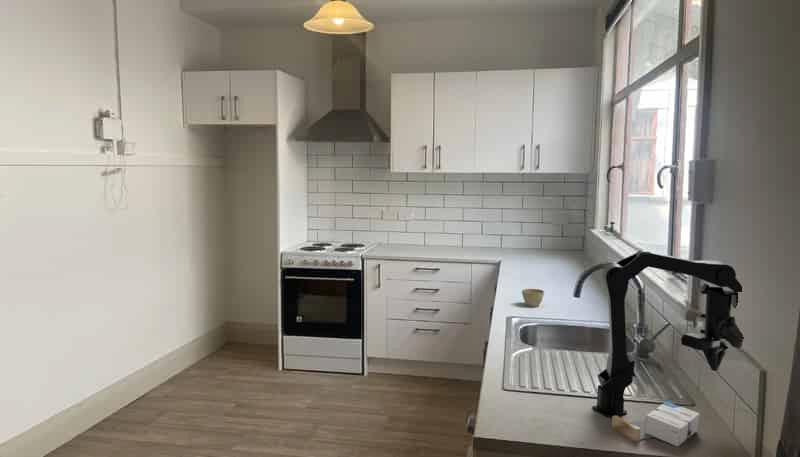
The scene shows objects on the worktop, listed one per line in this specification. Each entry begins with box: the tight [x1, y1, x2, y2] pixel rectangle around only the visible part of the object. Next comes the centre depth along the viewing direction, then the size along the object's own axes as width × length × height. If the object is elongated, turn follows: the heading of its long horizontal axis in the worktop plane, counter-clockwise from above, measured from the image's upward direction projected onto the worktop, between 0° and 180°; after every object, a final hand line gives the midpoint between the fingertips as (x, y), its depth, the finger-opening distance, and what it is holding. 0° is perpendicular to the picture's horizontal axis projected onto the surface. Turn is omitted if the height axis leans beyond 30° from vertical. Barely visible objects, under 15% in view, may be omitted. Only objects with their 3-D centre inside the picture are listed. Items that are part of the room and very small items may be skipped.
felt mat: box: [629, 418, 655, 441], centre depth 149 cm, size 8×13×1 cm, turn 114°
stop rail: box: [611, 415, 641, 442], centre depth 146 cm, size 8×1×3 cm, turn 23°
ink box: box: [644, 401, 701, 447], centre depth 146 cm, size 8×5×12 cm
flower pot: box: [521, 288, 545, 308], centre depth 276 cm, size 10×10×7 cm
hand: (714, 370), depth 153 cm, fingers closed
